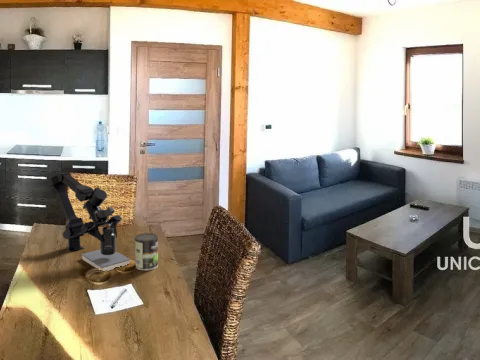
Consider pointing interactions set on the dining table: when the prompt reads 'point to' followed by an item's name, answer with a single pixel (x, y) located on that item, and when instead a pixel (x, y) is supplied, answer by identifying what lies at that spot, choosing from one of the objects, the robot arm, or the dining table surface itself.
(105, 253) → the supplement bottle
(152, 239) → the coffee can
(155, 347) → the dining table surface
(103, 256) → the book
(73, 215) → the robot arm
